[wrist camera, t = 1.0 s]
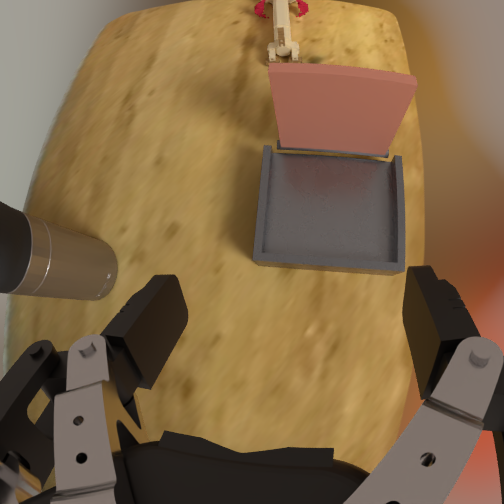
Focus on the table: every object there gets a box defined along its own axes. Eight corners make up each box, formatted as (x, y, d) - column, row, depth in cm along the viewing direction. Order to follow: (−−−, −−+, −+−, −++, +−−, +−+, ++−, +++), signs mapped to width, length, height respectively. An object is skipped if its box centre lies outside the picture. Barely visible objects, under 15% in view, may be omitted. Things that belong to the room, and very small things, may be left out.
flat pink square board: (386, 159, 36) (422, 86, 21) (277, 151, 38) (262, 72, 23) (385, 146, 36) (419, 71, 21) (278, 138, 38) (264, 57, 24)
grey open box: (392, 275, 36) (404, 271, 31) (258, 265, 39) (252, 260, 34) (391, 172, 38) (401, 156, 34) (268, 162, 41) (263, 145, 36)
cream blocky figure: (315, 70, 44) (304, -11, 46) (315, 37, 36) (302, -40, 38) (255, 72, 46) (257, -9, 48) (246, 40, 37) (250, -38, 39)
